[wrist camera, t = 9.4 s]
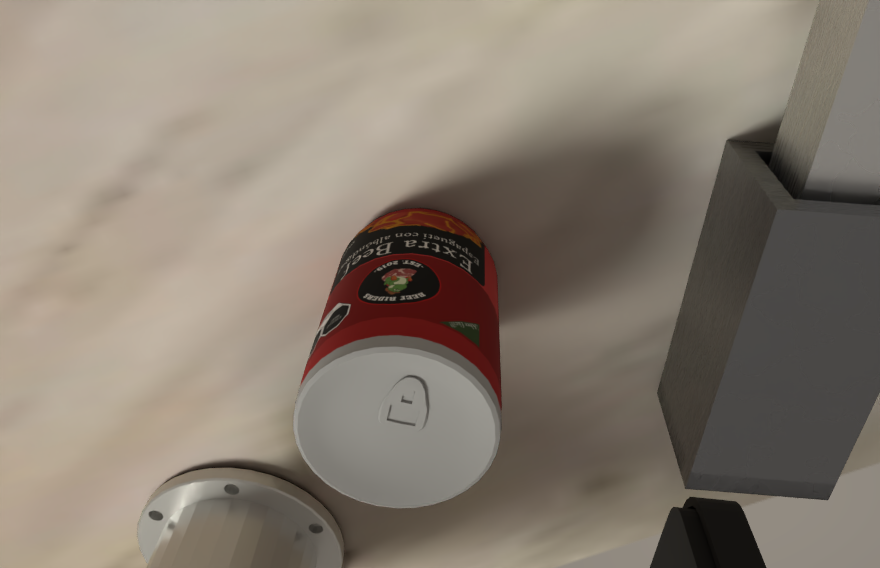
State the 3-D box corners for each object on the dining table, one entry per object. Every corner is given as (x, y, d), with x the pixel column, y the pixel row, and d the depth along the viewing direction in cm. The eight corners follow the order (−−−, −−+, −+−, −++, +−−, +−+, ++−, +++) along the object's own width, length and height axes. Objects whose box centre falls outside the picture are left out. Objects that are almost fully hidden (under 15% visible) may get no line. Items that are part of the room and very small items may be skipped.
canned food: (497, 199, 34) (501, 344, 25) (498, 342, 39) (503, 512, 29) (329, 203, 35) (273, 347, 26) (349, 343, 39) (307, 511, 30)
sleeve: (779, 402, 40) (828, 500, 34) (657, 393, 40) (685, 488, 34) (877, 151, 32) (960, 223, 27) (726, 140, 32) (777, 209, 27)
